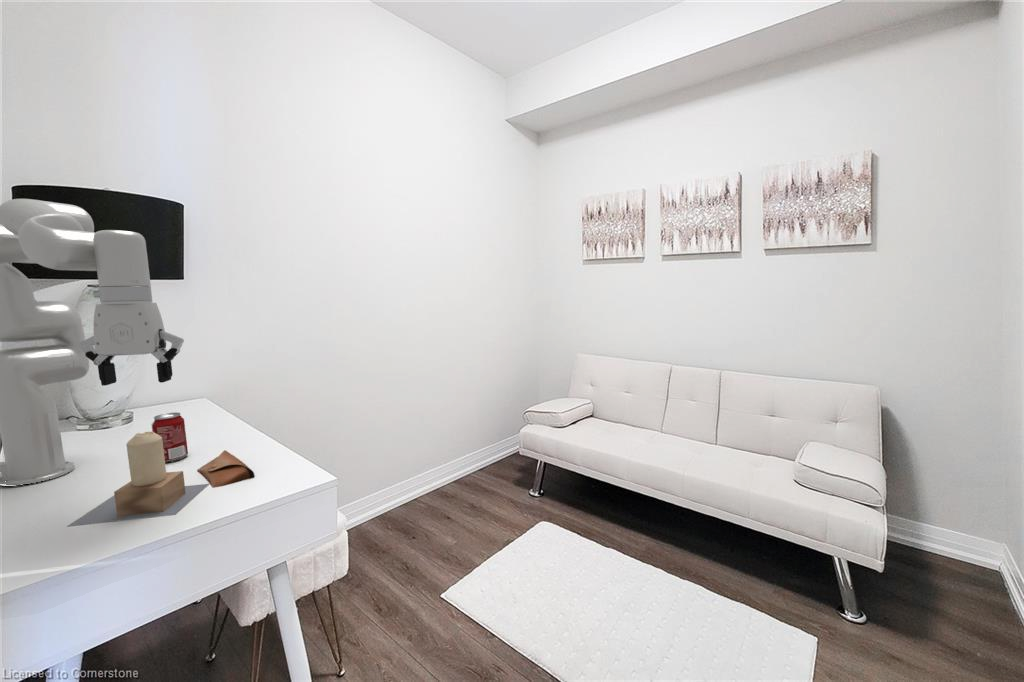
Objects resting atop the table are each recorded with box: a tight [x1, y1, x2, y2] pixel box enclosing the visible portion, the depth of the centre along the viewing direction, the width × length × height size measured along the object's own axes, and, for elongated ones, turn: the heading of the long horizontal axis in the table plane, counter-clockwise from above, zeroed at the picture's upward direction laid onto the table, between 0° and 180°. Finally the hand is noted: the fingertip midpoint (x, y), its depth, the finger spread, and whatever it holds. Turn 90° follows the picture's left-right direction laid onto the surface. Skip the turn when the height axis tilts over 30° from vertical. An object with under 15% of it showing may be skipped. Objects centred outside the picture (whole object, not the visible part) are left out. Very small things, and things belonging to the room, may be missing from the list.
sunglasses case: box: [196, 449, 255, 489], centre depth 104 cm, size 18×7×7 cm, turn 49°
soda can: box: [151, 411, 189, 464], centre depth 114 cm, size 7×7×12 cm
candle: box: [126, 431, 167, 486], centre depth 88 cm, size 6×6×10 cm
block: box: [113, 470, 186, 516], centre depth 89 cm, size 8×8×5 cm
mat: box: [66, 483, 210, 527], centre depth 90 cm, size 18×14×1 cm
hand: (137, 382), depth 86 cm, fingers open, 9 cm apart
